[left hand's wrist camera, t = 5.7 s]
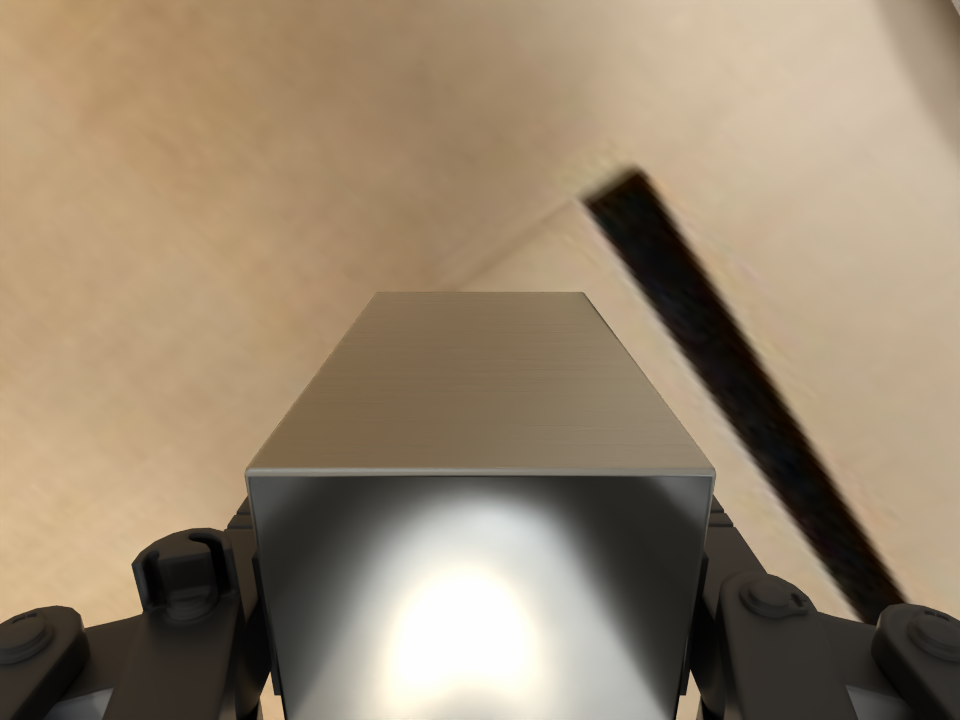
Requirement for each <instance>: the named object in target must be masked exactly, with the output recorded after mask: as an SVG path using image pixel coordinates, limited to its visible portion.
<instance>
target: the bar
mask: <svg viewBox="0 0 960 720" xmlns="http://www.w3.org/2000/svg"><path fill="white" fill-rule="evenodd" d="M715 479H716V471H715V468H714V467H713V466H712V464H711V463H710V462H709V460H708V459H707V458H706V456H705V455H704V453H703V452H702V451H701V449H700V448H699V447H698V445H697V444H696V443H695V441H694V440H693V439H692V437H691V436H690V435H689V433H688V432H687V431H686V429H685V428H684V427H683V425H682V424H681V423H680V421H679V420H678V419H677V417H676V416H675V415H674V413H673V412H672V411H671V409H670V408H669V406H668V405H667V404H666V402H665V401H664V400H663V398H662V397H661V396H660V394H659V393H658V392H657V390H656V389H655V388H654V386H653V385H652V384H651V382H650V381H649V380H648V378H647V377H646V376H645V374H644V373H643V372H642V370H641V369H640V368H639V366H638V365H637V364H636V362H635V361H634V360H633V358H632V357H631V355H630V354H629V353H628V351H627V350H626V349H625V347H624V346H623V345H622V343H621V342H620V341H619V339H618V338H617V337H616V335H615V334H614V333H613V331H612V330H611V329H610V327H609V326H608V325H607V323H606V322H605V321H604V319H603V318H602V317H601V315H600V314H599V313H598V311H597V310H596V308H595V307H594V306H593V304H592V303H591V302H590V300H589V299H588V298H587V296H586V295H585V294H584V293H583V292H378V293H376V294H375V295H374V297H373V298H372V300H371V301H370V302H369V304H368V305H367V306H366V308H365V309H364V310H363V312H362V313H361V314H360V316H359V317H358V318H357V320H356V321H355V322H354V324H353V325H352V326H351V328H350V329H349V330H348V332H347V333H346V335H345V336H344V337H343V339H342V340H341V341H340V343H339V344H338V345H337V347H336V348H335V349H334V351H333V352H332V353H331V355H330V356H329V357H328V359H327V360H326V361H325V363H324V364H323V365H322V367H321V368H320V370H319V371H318V372H317V374H316V375H315V376H314V378H313V379H312V380H311V382H310V383H309V384H308V386H307V387H306V388H305V390H304V391H303V392H302V394H301V395H300V396H299V398H298V399H297V401H296V402H295V403H294V405H293V406H292V407H291V409H290V410H289V411H288V413H287V414H286V415H285V417H284V418H283V419H282V421H281V422H280V423H279V425H278V426H277V427H276V429H275V430H274V431H273V433H272V434H271V436H270V437H269V438H268V440H267V441H266V442H265V444H264V445H263V446H262V448H261V449H260V450H259V452H258V453H257V454H256V456H255V457H254V458H253V460H252V461H251V462H250V464H249V465H248V466H247V468H246V470H245V480H246V486H247V493H248V499H249V505H250V511H251V517H252V523H253V529H254V535H255V541H256V547H257V553H258V559H259V566H260V572H261V578H262V584H263V590H264V596H265V602H266V608H267V614H268V620H269V626H270V632H271V639H272V645H273V651H274V657H275V663H276V669H277V675H278V681H279V687H280V693H281V699H282V705H283V711H284V718H285V720H676V715H677V709H678V703H679V697H680V691H681V685H682V679H683V673H684V666H685V660H686V654H687V648H688V642H689V636H690V630H691V624H692V618H693V612H694V606H695V600H696V594H697V588H698V582H699V576H700V569H701V563H702V557H703V551H704V545H705V539H706V533H707V527H708V521H709V515H710V509H711V503H712V497H713V491H714V485H715Z"/></svg>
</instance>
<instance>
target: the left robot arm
mask: <svg viewBox="0 0 960 720" xmlns="http://www.w3.org/2000/svg"><path fill="white" fill-rule="evenodd" d="M131 565H132V569H133V573H134V577H135V580H136V584H137V588H138V592H139V596H140V600H141V604H142V607H143V613H142V614H141V615H137V616H134V617H131V618H127V619H123V620H119V621H114V622H110V623H106V624H101V625H97V626H93V627H89V628H84V625H83V622H82V619H81V615H80V614H79V613H77V612H76V611H75V610H74V609H73V608H70V607H63V606H50V607H43V608H36V609H34V610H31V611H28V612H25V613H22V614H19V615H17V616H14V617H12V618H10V619H9V620H7V621H5V622H3V623H1V624H0V720H263V714H262V707H261V702H260V695H261V693H262V690H263V688H264V685H265V683H266V680H267V678H268V675H269V673H270V672H271V677H272V683H273V689H274V695H281V693H280V687H279V681H278V675H277V669H276V663H275V657H274V651H273V645H272V639H271V632H270V626H269V620H268V614H267V608H266V602H265V596H264V590H263V584H262V578H261V572H260V566H259V559H258V553H257V547H256V541H255V535H254V529H253V523H252V517H251V511H250V505H249V499H248V496H247V497H246V499H245V500H244V502H243V503H242V505H241V506H240V508H239V509H238V511H237V515H234V517H233V518H232V520H231V521H230V523H229V524H228V527H227V529H225V530H224V531H220V530H216V529H212V528H192V529H188V530H184V531H180V532H176V533H173V534H170V535H168V536H166V537H164V538H162V539H159V540H157V541H155V542H154V543H152V544H151V545H150V546H148V547H147V548H146V549H144V550H143V551H141V552H140V553H139V555H138V556H137V557H136V559H135V560H134V561H133V563H132V564H131ZM690 669H691V672H692V674H693V677H694V679H695V682H696V684H697V686H698V689H699V691H700V694H701V696H700V702H699V707H698V712H697V718H696V720H960V621H959V620H957V619H955V618H953V617H952V616H950V615H948V614H946V613H943V612H940V611H938V610H934V609H931V608H929V607H926V606H920V605H913V604H907V603H903V604H896V605H889V606H888V607H887V608H886V609H885V610H883V611H882V612H881V614H880V617H879V620H878V623H877V626H873V625H869V624H865V623H860V622H856V621H852V620H847V619H843V618H839V617H834V616H831V615H828V614H824V613H821V612H818V611H817V609H816V608H815V606H814V605H813V603H812V602H811V600H810V599H809V597H808V596H807V595H805V594H804V593H803V592H802V591H801V590H799V589H798V588H797V587H796V586H795V585H793V584H791V583H789V582H787V581H785V580H783V579H781V578H779V577H777V576H774V575H770V574H767V572H766V571H765V569H764V568H763V567H762V565H761V564H760V562H759V561H758V559H757V558H756V556H755V555H754V553H753V552H752V550H751V549H750V547H749V546H748V545H747V543H746V542H745V540H744V539H743V537H742V536H741V534H740V533H739V531H738V530H737V528H736V527H733V523H732V521H731V520H730V518H729V517H728V515H727V514H726V513H724V509H723V508H722V506H721V505H720V504H719V502H718V501H717V499H716V498H715V496H714V495H713V497H712V503H711V509H710V515H709V521H708V527H707V533H706V539H705V545H704V551H703V557H702V563H701V569H700V576H699V582H698V588H697V594H696V600H695V606H694V612H693V618H692V624H691V630H690V636H689V642H688V648H687V654H686V660H685V666H684V673H683V679H682V685H681V691H680V695H686V691H687V686H688V680H689V674H690Z"/></svg>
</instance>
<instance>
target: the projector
mask: <svg viewBox="0 0 960 720" xmlns="http://www.w3.org/2000/svg"><path fill="white" fill-rule="evenodd" d="M951 1H952V2H953V4H954V6H955V8H956V10H957V12H958V14H959V16H960V0H951Z"/></svg>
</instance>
